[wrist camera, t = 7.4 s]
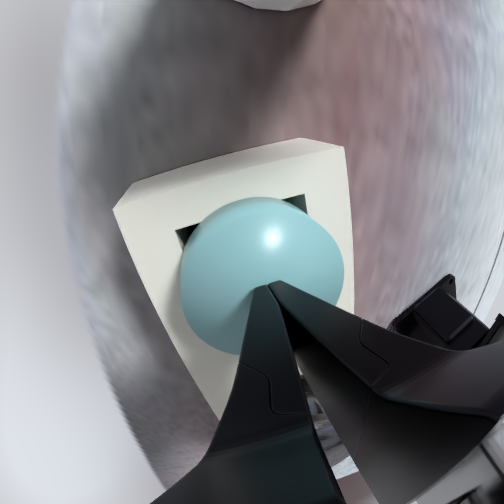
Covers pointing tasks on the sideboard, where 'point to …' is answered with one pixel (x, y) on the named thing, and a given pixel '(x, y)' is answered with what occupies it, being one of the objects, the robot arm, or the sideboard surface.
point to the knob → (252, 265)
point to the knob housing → (207, 201)
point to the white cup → (278, 4)
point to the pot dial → (325, 429)
